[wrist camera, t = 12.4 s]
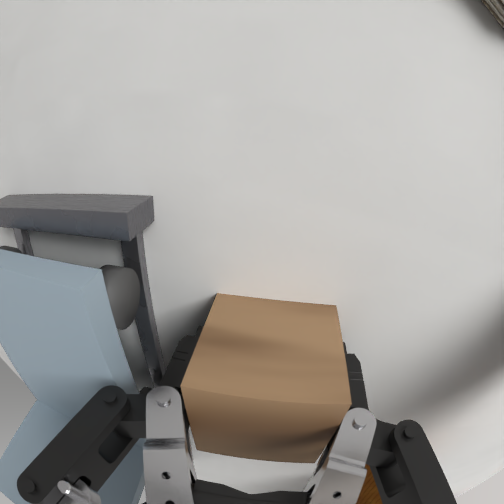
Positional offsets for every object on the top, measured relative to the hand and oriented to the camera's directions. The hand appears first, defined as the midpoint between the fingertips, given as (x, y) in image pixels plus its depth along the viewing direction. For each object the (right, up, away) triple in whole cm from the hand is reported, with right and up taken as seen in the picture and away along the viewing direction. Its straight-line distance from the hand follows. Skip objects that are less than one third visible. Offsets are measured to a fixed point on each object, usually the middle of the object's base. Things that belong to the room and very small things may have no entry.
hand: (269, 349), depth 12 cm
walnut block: (0, 0, +1) cm, 1 cm away
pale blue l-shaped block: (-10, 0, +2) cm, 10 cm away
